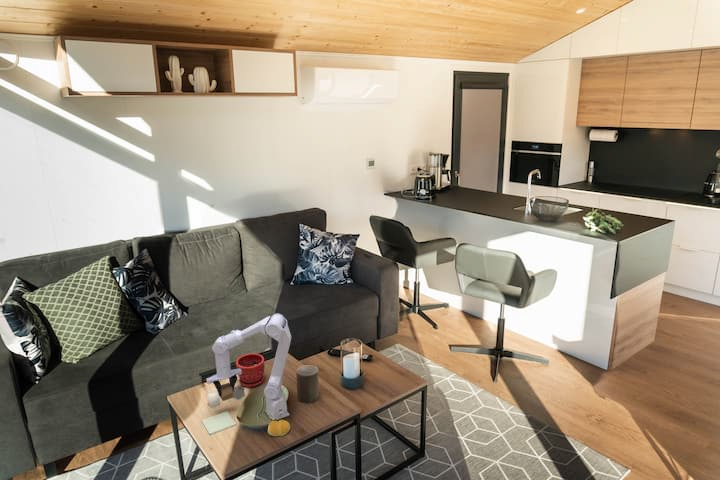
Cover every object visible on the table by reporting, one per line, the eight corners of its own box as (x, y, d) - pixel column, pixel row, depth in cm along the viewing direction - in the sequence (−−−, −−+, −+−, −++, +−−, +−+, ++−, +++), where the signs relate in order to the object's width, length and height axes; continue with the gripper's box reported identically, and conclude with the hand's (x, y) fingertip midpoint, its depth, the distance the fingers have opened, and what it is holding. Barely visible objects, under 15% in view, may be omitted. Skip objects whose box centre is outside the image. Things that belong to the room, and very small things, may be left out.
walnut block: (233, 397, 210) (232, 387, 209) (222, 401, 208) (221, 390, 206) (229, 392, 214) (228, 382, 212) (219, 396, 211) (218, 385, 210)
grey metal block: (244, 395, 224) (244, 387, 223) (238, 399, 221) (237, 392, 220) (239, 392, 227) (238, 385, 226) (232, 397, 224) (231, 389, 222)
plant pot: (232, 382, 236) (230, 359, 232) (256, 372, 244) (255, 350, 241) (246, 393, 226) (244, 369, 223) (271, 382, 235) (269, 359, 231)
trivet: (236, 425, 203) (236, 423, 203) (209, 435, 197) (209, 433, 197) (227, 412, 212) (227, 411, 212) (201, 421, 206) (201, 420, 206)
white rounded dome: (221, 404, 218) (220, 394, 216) (210, 408, 215) (209, 398, 214) (218, 399, 222) (216, 389, 220) (207, 403, 219) (205, 393, 218)
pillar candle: (304, 406, 215) (303, 375, 212) (293, 396, 223) (292, 366, 219) (323, 398, 221) (322, 368, 217) (311, 389, 229) (310, 359, 225)
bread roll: (290, 435, 197) (290, 426, 196) (268, 438, 195) (267, 429, 194) (289, 422, 204) (289, 414, 203) (267, 425, 203) (267, 417, 202)
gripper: (236, 356, 214) (239, 384, 217) (203, 366, 206) (206, 394, 210) (242, 362, 208) (244, 391, 211) (208, 373, 200) (211, 402, 204)
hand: (226, 393), depth 210 cm, fingers closed on walnut block, 4 cm apart
